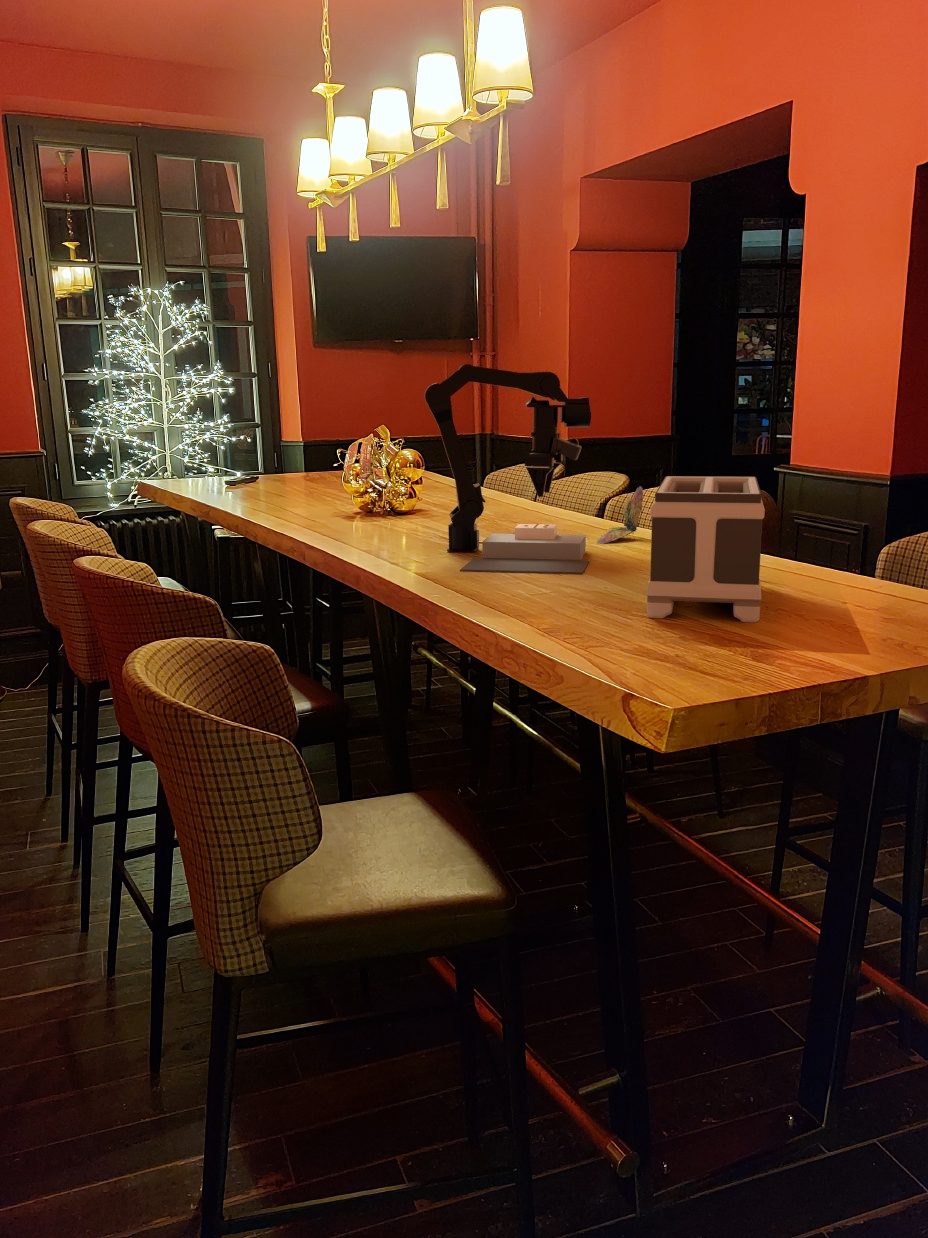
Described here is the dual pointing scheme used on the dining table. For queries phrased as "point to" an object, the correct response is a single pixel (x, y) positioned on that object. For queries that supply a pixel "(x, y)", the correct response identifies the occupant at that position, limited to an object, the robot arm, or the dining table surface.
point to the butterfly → (632, 514)
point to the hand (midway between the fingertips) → (543, 494)
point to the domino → (535, 531)
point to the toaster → (706, 544)
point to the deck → (534, 547)
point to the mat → (526, 565)
